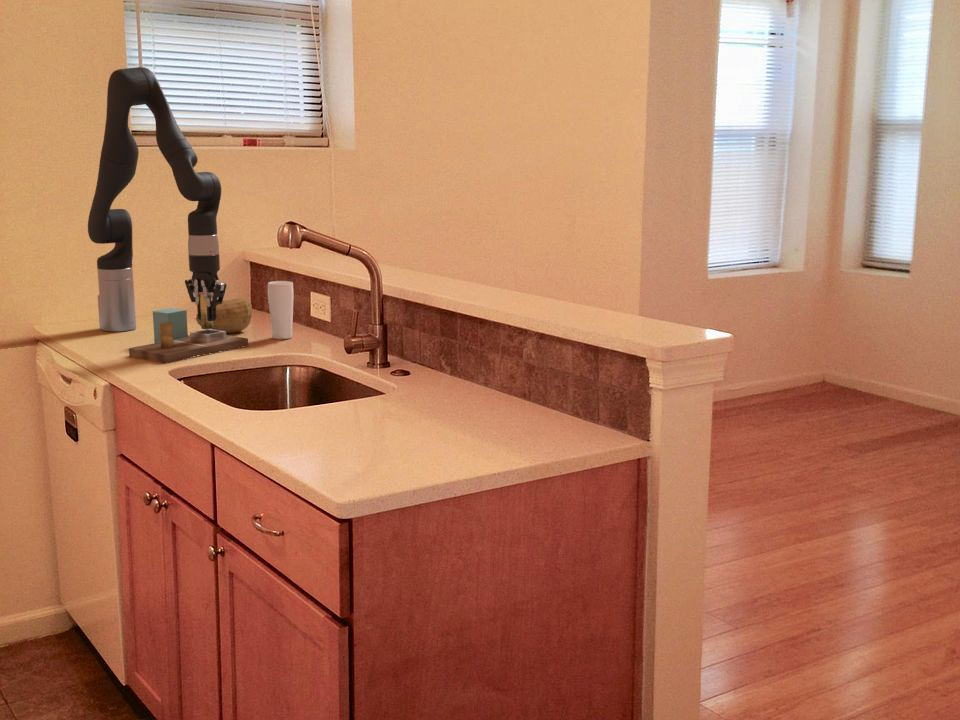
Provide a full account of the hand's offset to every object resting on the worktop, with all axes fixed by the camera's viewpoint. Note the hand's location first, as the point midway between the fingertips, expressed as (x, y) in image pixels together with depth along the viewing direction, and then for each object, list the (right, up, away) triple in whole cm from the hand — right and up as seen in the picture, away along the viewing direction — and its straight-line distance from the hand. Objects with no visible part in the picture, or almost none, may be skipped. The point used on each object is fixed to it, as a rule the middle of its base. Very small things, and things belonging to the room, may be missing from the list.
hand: (207, 319), depth 275 cm
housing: (-11, -6, +6) cm, 14 cm away
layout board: (-3, -8, -3) cm, 9 cm away
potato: (0, -3, +21) cm, 21 cm away
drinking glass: (+17, -5, +14) cm, 22 cm away
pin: (0, -2, 0) cm, 2 cm away
